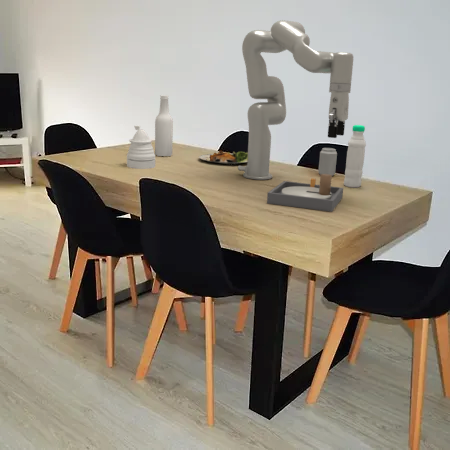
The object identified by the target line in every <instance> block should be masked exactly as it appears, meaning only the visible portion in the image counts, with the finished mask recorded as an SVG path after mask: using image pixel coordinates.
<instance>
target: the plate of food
mask: <svg viewBox="0 0 450 450" xmlns="http://www.w3.org/2000/svg"><path fill="white" fill-rule="evenodd" d="M198 158H199V159H201V160H203V161H207V162H208V163H215V164H224V165H225V164H226V165H230V164H231V165H232V164H234V165H238V164H243V163H247V160H248V152H245V151H240V150H239V151H238V152H235V151H232V153H231V152H229V151H228V152H226V151H225V152H224V151H223V150H219V151H218V152H217V153H216V152H213V153H207V154H202V155H200V156H198ZM207 158H210V160H206V159H207Z"/></svg>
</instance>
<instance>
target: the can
mask: <svg viewBox="0 0 450 450" xmlns="http://www.w3.org/2000/svg"><path fill="white" fill-rule="evenodd" d="M336 150H337V149H335V148H332V147H323V148H322V149H321V151H319V162H318V171H317V173H318V174H319V175H321V174H330V175H332V177H333V176H334V175H336V165H337V156H338V153H337V151H336Z"/></svg>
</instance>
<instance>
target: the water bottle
mask: <svg viewBox="0 0 450 450" xmlns="http://www.w3.org/2000/svg"><path fill="white" fill-rule="evenodd" d="M365 130H366V126H365V125H360V124H354V125H353V126H352V135H351V136H350V138H349V140H348V142H347V146H348V147H347V151H346V161H345V162H346V163H345V171H344V179H343V185H344V186H345V187H348V188H353V189H354V188H356V189H357V188H361V186H362V177H363V167H364V161H365V154H366V153H365V151H366V146H367V143H366V139H365V136H364V132H365Z"/></svg>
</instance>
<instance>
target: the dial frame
mask: <svg viewBox="0 0 450 450" xmlns="http://www.w3.org/2000/svg"><path fill="white" fill-rule="evenodd" d="M316 181H317V179H316V178H310V183H306V182H297V181H288V180H287V181H286V180H283V181H282V182H280V183H279V184H278V185H277V186H275V187H274V188H272V189H271V190H269V191H267V197H266V204H269V205H277V206H285V207H294V208H302V209H306V210H307V209H308V210H309V209H310V210H315V211H322V212H323V211H324V212H333V211H335V208H337V206H338V204H339V203H340V202H341V200H342V199H343V194H344V187H341V186H333V185H331V190H330V192H331V193H332V196H331V199H330V200H328V199H320V198H312V197H304V196H296V195H288V194H282V189H283V188H286V187H293V186H305V187H315V188H319V186H320V184H316Z"/></svg>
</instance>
